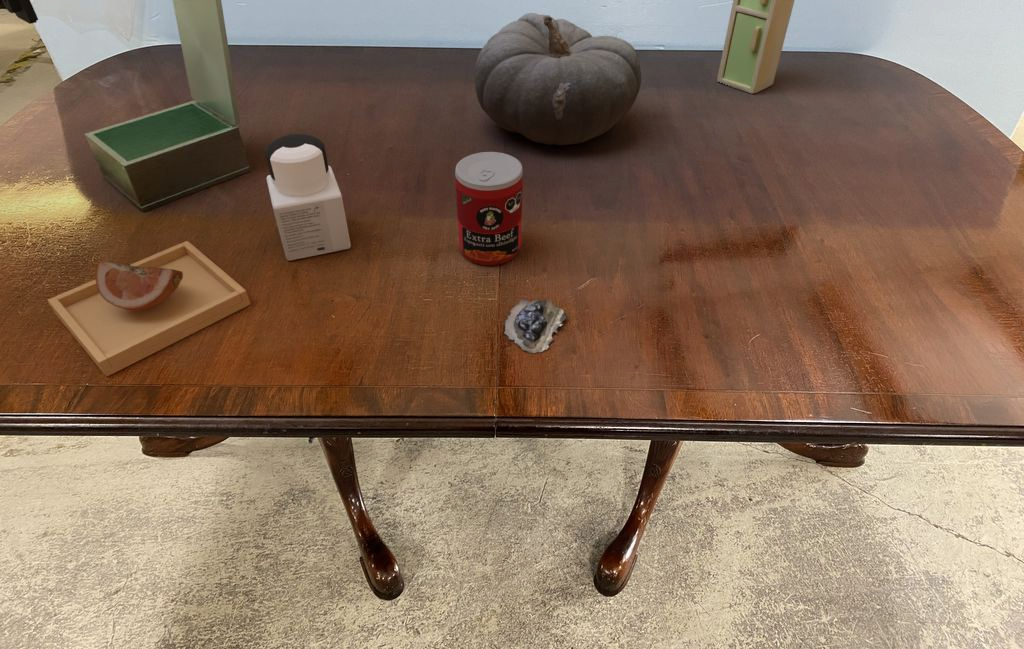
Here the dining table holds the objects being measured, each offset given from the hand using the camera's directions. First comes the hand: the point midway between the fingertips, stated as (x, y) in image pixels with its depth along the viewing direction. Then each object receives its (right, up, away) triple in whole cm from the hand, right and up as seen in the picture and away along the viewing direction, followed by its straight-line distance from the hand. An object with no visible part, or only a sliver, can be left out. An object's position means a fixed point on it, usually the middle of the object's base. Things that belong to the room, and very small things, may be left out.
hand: (84, 7), depth 60 cm
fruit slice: (-1, -27, +12) cm, 29 cm away
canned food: (+36, -19, +22) cm, 46 cm away
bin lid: (-3, +8, +29) cm, 30 cm away
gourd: (+46, +4, +48) cm, 67 cm away
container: (+14, -18, +23) cm, 33 cm away
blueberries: (+41, -29, +11) cm, 52 cm away
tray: (-1, -27, +13) cm, 30 cm away
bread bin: (-9, -7, +35) cm, 37 cm away
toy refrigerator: (+81, +15, +62) cm, 103 cm away
